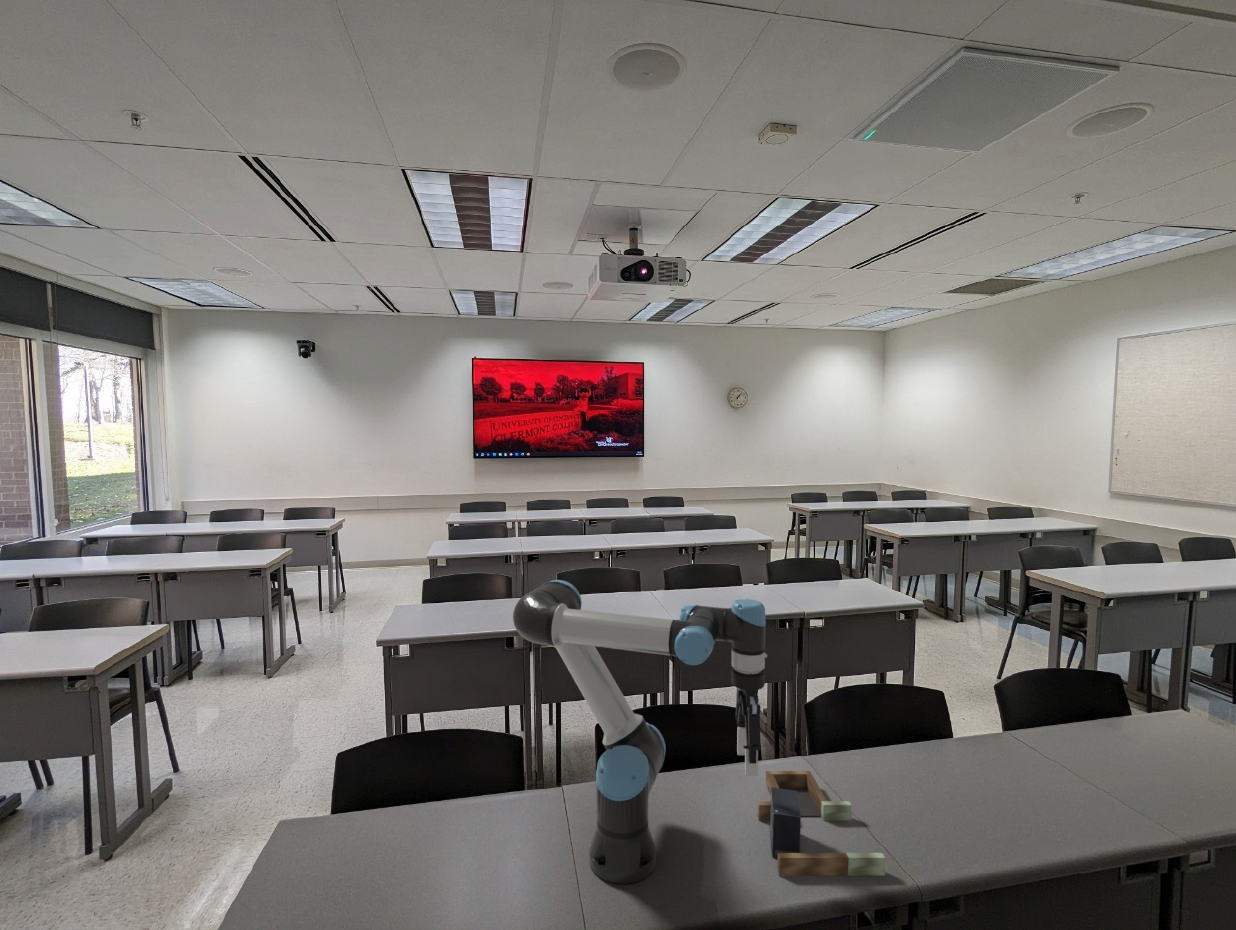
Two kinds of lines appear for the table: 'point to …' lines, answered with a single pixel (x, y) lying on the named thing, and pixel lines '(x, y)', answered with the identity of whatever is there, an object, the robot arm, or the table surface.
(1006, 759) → the table surface
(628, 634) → the robot arm
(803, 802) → the mat
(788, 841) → the small box
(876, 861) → the wooden frame pieces
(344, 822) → the table surface
